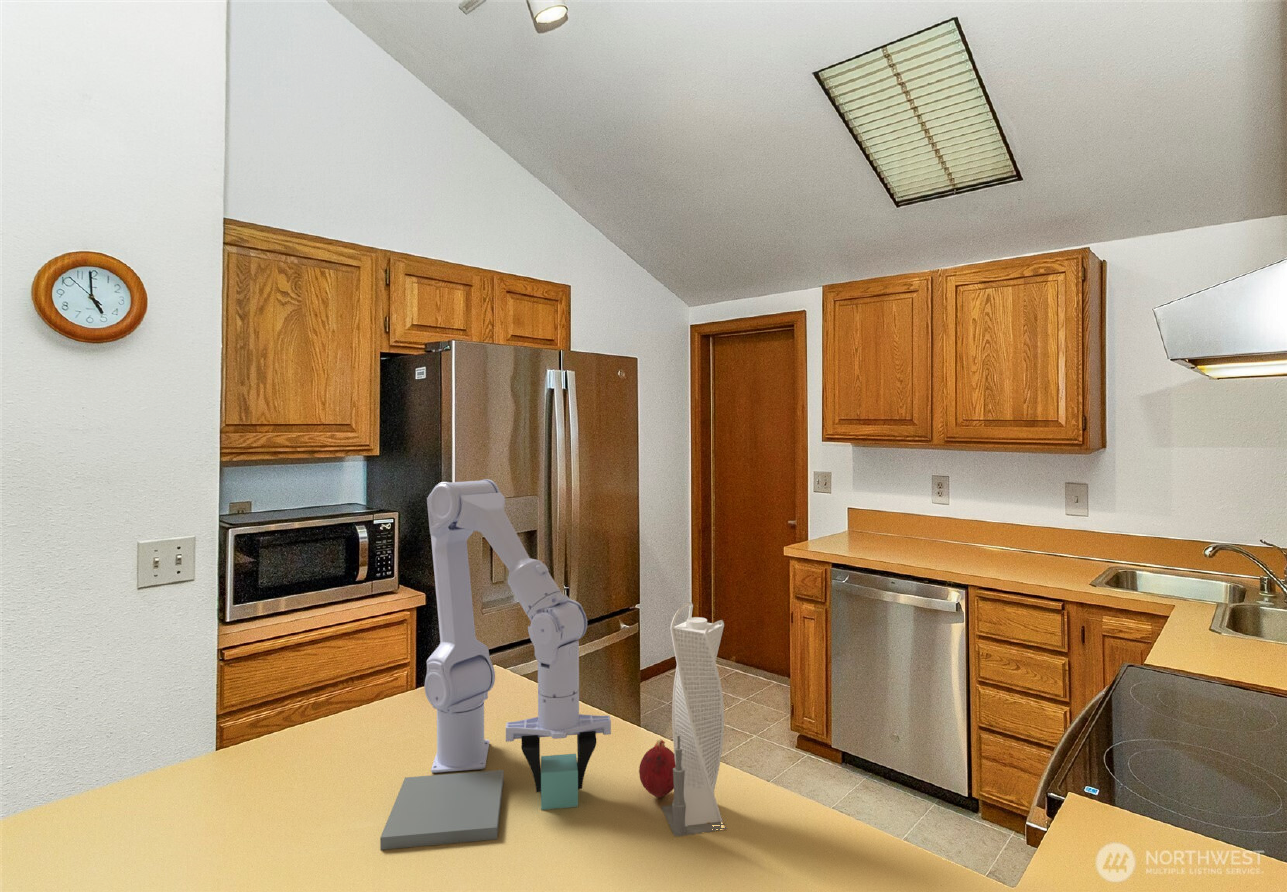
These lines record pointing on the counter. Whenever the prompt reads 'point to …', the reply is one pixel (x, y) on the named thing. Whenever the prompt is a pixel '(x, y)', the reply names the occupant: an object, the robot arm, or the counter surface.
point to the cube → (559, 781)
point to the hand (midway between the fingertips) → (559, 786)
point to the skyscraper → (696, 726)
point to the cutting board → (445, 810)
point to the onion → (658, 770)
